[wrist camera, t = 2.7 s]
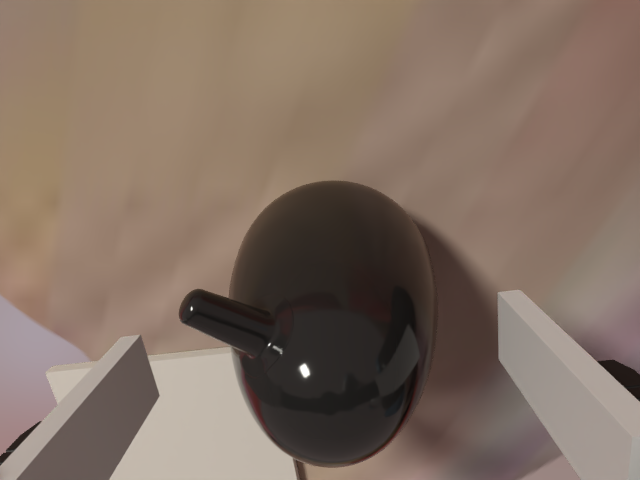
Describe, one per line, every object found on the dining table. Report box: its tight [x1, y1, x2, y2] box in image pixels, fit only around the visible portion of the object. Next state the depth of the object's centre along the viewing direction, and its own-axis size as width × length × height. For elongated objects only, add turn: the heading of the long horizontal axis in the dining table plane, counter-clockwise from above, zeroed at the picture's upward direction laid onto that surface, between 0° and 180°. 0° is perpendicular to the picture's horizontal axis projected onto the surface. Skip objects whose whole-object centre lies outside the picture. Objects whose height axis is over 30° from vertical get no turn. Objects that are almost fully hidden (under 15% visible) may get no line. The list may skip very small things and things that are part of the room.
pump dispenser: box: [179, 181, 438, 468], centre depth 18 cm, size 10×10×15 cm
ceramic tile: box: [46, 347, 300, 480], centre depth 30 cm, size 16×16×1 cm
